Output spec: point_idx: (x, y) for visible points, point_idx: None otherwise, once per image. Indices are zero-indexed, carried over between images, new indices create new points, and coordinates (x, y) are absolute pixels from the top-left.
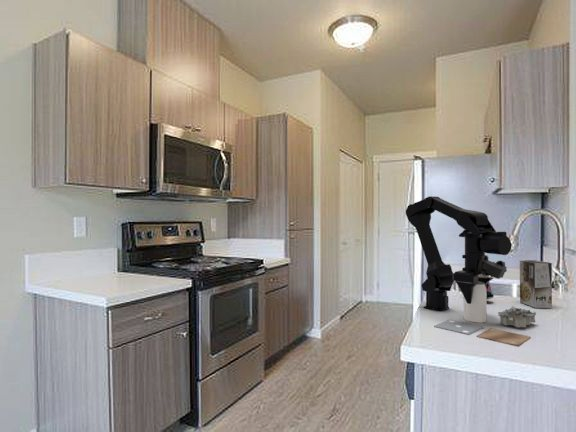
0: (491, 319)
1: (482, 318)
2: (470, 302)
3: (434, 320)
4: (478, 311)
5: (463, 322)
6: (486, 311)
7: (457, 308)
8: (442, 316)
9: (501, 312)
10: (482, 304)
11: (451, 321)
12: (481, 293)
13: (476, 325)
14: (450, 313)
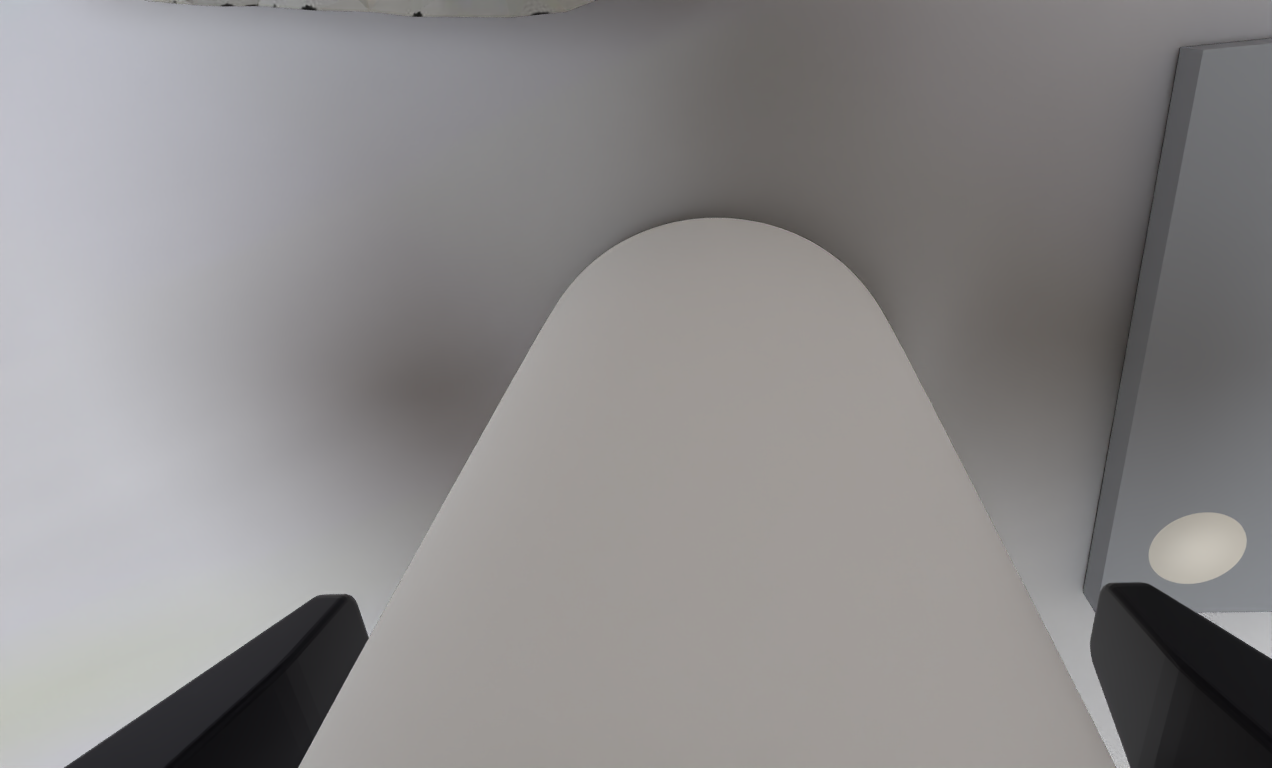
0: (413, 241)
1: (807, 252)
2: (1175, 606)
3: None
4: (898, 358)
5: (1139, 410)
6: (630, 284)
7: None
8: None
9: (403, 7)
10: (847, 378)
11: (1208, 549)
12: (962, 648)
13: (1198, 176)
14: None
